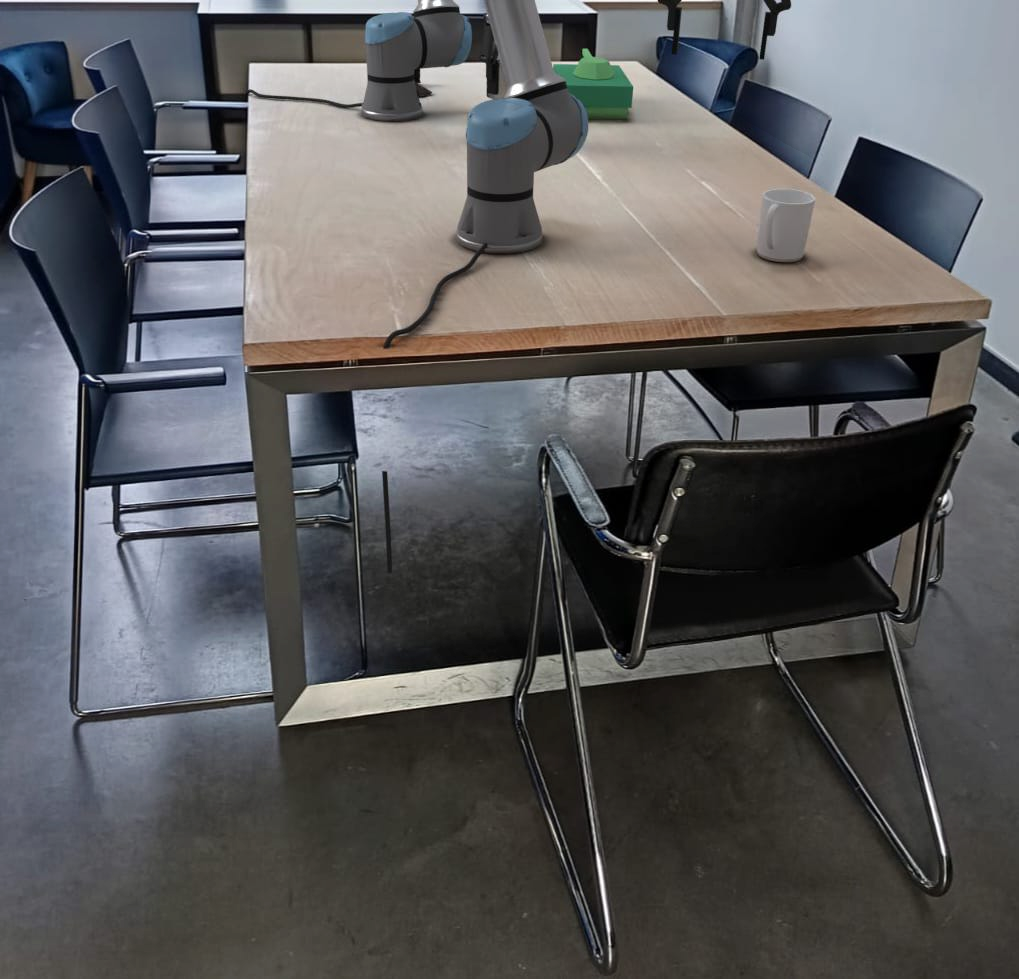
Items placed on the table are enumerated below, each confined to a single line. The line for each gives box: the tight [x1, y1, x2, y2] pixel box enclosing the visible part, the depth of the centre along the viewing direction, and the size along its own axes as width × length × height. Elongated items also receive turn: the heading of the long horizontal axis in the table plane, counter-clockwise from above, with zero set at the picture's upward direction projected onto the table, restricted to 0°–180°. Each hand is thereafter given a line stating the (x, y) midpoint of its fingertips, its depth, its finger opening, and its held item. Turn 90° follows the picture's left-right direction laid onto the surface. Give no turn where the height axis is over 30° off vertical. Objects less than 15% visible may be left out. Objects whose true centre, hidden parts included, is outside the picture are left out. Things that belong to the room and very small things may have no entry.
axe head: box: [414, 69, 433, 97], centre depth 299 cm, size 18×8×15 cm
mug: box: [756, 188, 816, 263], centre depth 188 cm, size 11×9×10 cm
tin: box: [485, 54, 508, 100], centre depth 249 cm, size 9×9×9 cm
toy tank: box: [552, 48, 634, 120], centre depth 286 cm, size 18×12×35 cm
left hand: (505, 90), depth 251 cm, fingers closed on tin, 9 cm apart
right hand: (717, 55), depth 172 cm, fingers open, 13 cm apart
